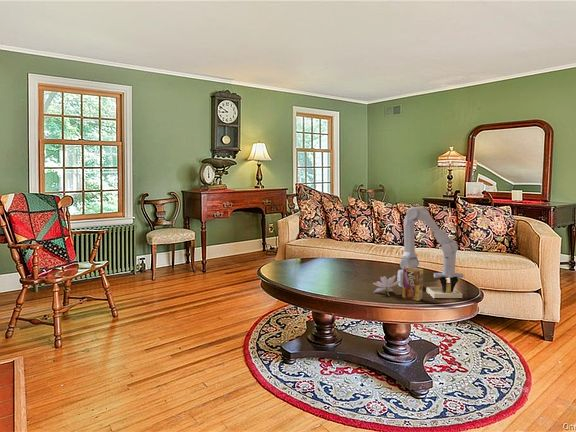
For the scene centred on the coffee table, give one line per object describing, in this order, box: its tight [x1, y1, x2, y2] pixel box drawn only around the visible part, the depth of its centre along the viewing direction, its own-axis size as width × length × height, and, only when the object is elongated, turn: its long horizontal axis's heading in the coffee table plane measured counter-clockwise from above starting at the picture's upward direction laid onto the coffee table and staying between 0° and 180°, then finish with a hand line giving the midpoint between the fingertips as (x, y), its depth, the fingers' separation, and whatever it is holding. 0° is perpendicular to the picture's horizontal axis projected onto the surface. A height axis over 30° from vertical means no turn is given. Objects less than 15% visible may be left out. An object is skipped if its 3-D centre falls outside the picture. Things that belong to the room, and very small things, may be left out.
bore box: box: [425, 286, 463, 299], centre depth 216 cm, size 14×12×2 cm
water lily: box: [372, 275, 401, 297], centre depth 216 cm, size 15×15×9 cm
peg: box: [444, 282, 451, 293], centre depth 216 cm, size 3×3×6 cm
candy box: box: [401, 267, 424, 302], centre depth 209 cm, size 9×4×15 cm, turn 47°
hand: (447, 291), depth 216 cm, fingers closed on peg, 3 cm apart
